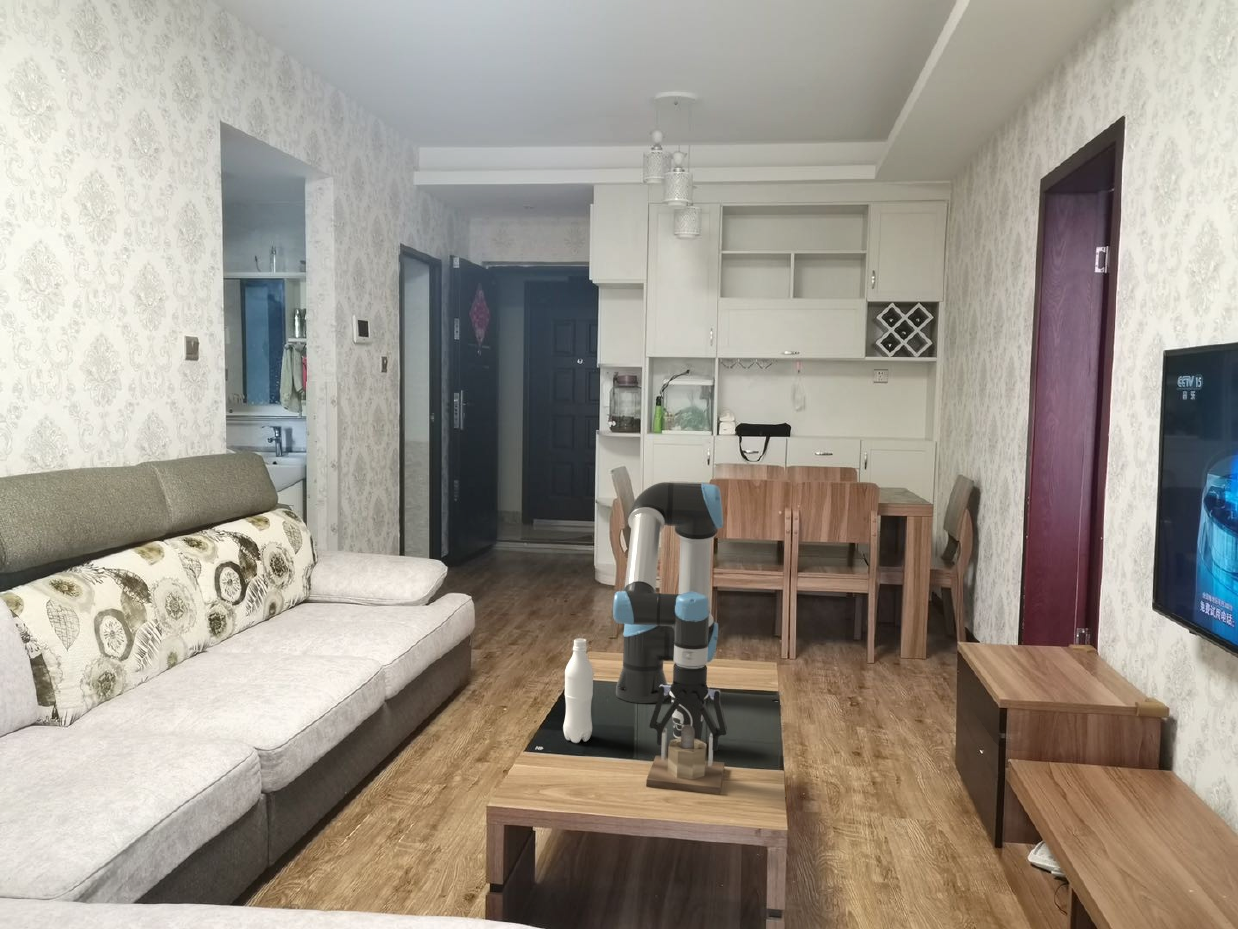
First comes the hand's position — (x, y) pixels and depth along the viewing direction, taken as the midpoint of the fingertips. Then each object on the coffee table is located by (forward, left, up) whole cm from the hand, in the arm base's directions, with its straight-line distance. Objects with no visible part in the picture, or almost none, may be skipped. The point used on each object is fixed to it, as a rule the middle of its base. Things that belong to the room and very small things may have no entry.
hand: (686, 761), depth 201 cm
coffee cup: (-19, -2, -4) cm, 19 cm away
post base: (0, 0, -4) cm, 4 cm away
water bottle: (-16, -29, -4) cm, 33 cm away
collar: (0, 0, -2) cm, 2 cm away
